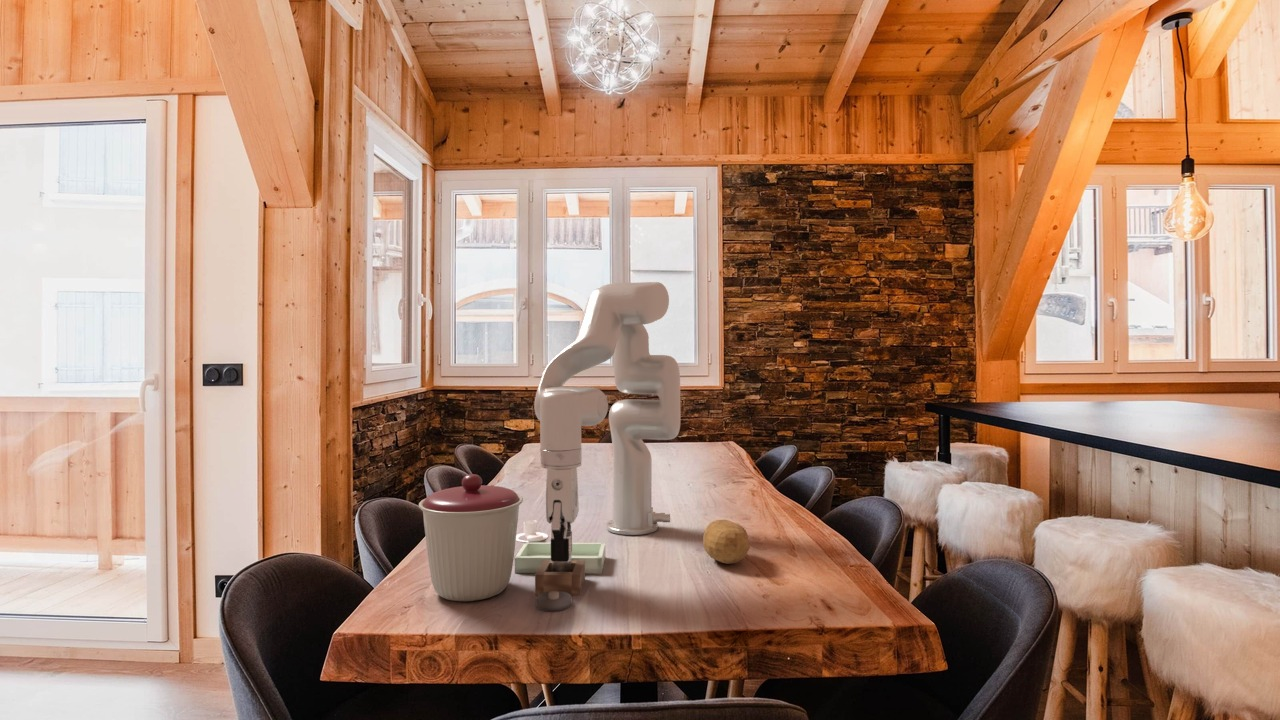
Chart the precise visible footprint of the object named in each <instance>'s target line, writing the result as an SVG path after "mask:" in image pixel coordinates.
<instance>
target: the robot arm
mask: <svg viewBox="0 0 1280 720" xmlns="http://www.w3.org/2000/svg"><path fill="white" fill-rule="evenodd" d="M669 305H670V296H669V292H668V289H667V288H666V286H665V285H664V284H663V283H661V282H657V281H649V282H648V281H645V282H642V281H641V282H617V283H615V282H614V283H609V284H608V283H607V284H605V285H602V286H600V287H598V288H596V289H593V291H592V292H591V293H590V295H589V296H588V298H587V302H586V305H585V309H584V311H583V315H582V317H581V320H580V324H579V327H578V331H577V334H576V338H575V340H574V341H573V342H571V344H569V345H567V346H566V347H565V348H563V349H562V350H561V351H560V352H559V353H558V354H557V355H555V356H554V358H553V359H552V360H550V361H549V363H547V365H546V367H545V368H544V370H543V372H542V375H541V377H540V381H539V383H538V386H537V390H536V393H535V398H534V403H533V405H534V413H535V416H536V418H537V420H539V422H540V423H539V424H540V425H539V430H540V432H539V434H540V435H539V436H540V437H539V439H540V440H539V441H540V443H539V444H540V445H539V446H540V448H539V449H540V451H539V452H540V454H539V457H540V461H539V463H540V467H541V468H542V469H546V470H545V471H546V472H545V518H546V522H547V523H548V524H551V525H550V526H551V530H550V531H551V534H550V535H551V537H550V543H551V561H568V560H569V539H567V529H569V530H571V552H572V543H573V532H572V524H573V523H574V522H576V519H577V517H578V514H579V511H580V508H579V507H580V506H579V504H580V503H579V481H578V478H579V477H578V468H580V467H581V466H582V462H583V461H582V427H592V426H597V425H599V424H601V422H603V420H605V418H606V416H607V414H608V424H609V429H610V435H611V437H610V438H611V442H612V446H611V447H612V519H611V520H609V521H607V522H606V526H605V527H606V530H607V531H608V532H610V533H613V534H617V535H623V536H625V535H626V536H640V535H641V536H642V535H647V534H651V533H654V532H656V531H657V530H658V529H659V528H658V527H659V524H658V523H660V522H661V523H671V514H670V513H669V514H668V513H667V514H666V513H665V512H656V511H654V509H653V507H652V504H653V503H652V500H653V499H652V497H653V496H652V494H653V493H652V484H653V483H652V471H653V470H652V467H653V466H652V455H651V452H650V450H649V448H648V447H647V445H646V444H645V442H644V441H643V440H657V441H661V440H663V441H666V440H667V441H668V440H673V439H675V438H676V437H677V436H678V435H679V434H680V433H679V432H680V429H681V414H682V413H681V374H680V367H679V364H678V361H677V360H676V359H675V358H674V357H672V356H671V355H667V354H651V353H650V344H649V343H650V342H649V341H650V340H649V339H650V338H649V333H648V330H647V329H646V327H645V326H644V325H649V324H652V323H655V322H657V321H658V320H661V319H662V318H663V317H665V316H666V314H667V312H668V309H669ZM612 357H613V361H614V365H613V366H614V370H613V371H614V383H615V387H616V389H617V390H618V391H619V392H620V393H623V394H631V395H656V396H658V398H659V399H641V398H640V399H638V398H637V399H633V398H631V399H626V398H625V399H622V400H621V399H620V400H617V401H616V402H614V403H613V404H612V406H611V407H610V408H609V401H608V398H607V396H606V394H605V393H604V392H603V390H600V389H599V388H596V387H592V386H591V387H589V386H588V387H587V386H585V387H584V386H564V385H565V384H566V383H567V382H568V380H570V379H572V377H573V376H575V375H577V374H579V373H581V372H583V371H587V370H589V369H592V368H594V367H596V366H599V365H600V364H603V363H605V362H607V361H609V360H610V359H611V358H612ZM608 410H609V413H608Z"/></svg>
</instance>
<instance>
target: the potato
mask: <svg viewBox="0 0 1280 720" xmlns="http://www.w3.org/2000/svg"><path fill="white" fill-rule="evenodd" d="M702 539H703V540H702V541H703V543H702V544H703V549H704V552H706V554H708V556H709V557H710V558H711V559H713V560H716V561H718V562H719V563H722V564H726V565H727V564H728V565H729V564H736V563H738V562H740V561H741V560H743V559H744V558H746V557H747V556H748V552H749V551H750V550H749V549H750V547H751V545H750V539H749V535H748V533H747V530H746V529H745V528H744V527H743V525H740V524H738V523H736V522H733V521H731V520H728V519H716V520H713V521H712V522H710V523H709V524H708V525H707V526H706V527H705V531H704V533H703V535H702Z"/></svg>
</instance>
